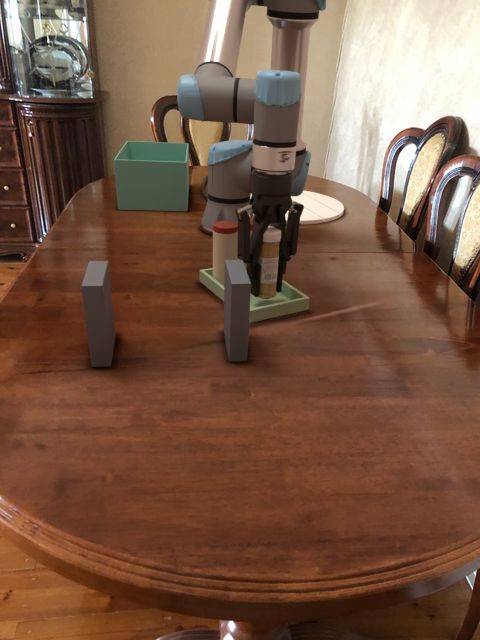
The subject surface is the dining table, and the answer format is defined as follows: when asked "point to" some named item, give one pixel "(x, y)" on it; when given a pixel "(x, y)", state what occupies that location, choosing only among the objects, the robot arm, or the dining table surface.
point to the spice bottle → (223, 247)
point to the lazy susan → (317, 208)
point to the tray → (263, 308)
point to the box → (152, 176)
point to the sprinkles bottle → (269, 262)
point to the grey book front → (99, 313)
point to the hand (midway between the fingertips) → (265, 291)
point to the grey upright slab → (236, 310)
